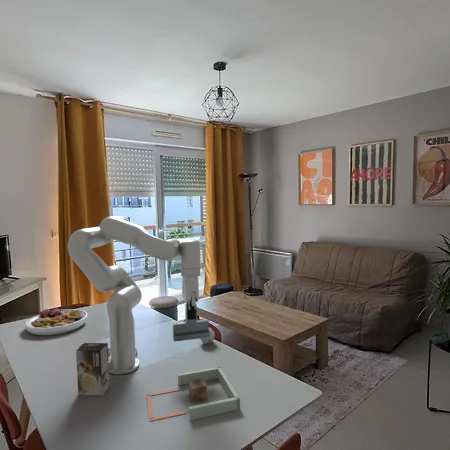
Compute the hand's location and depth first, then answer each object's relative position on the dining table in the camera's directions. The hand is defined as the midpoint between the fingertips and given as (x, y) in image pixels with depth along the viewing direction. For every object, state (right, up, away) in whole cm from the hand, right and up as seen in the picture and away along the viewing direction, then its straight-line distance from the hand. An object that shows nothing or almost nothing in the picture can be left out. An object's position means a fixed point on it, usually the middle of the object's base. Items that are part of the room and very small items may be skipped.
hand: (190, 317), depth 124 cm
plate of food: (-79, -20, +50) cm, 95 cm away
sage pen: (+7, -22, -16) cm, 28 cm away
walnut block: (+4, -22, -17) cm, 28 cm away
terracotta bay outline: (-6, -23, -20) cm, 31 cm away
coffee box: (-33, -23, -12) cm, 42 cm away
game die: (+5, -20, +26) cm, 33 cm away
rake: (0, -8, 0) cm, 8 cm away
